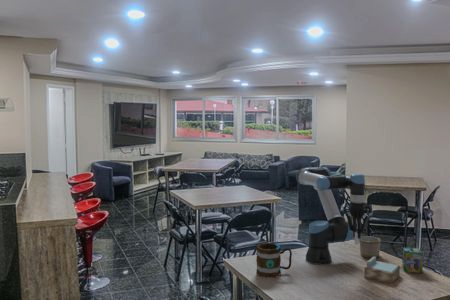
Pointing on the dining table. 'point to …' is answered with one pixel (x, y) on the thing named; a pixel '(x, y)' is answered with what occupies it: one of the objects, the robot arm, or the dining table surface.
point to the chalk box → (412, 260)
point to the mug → (270, 259)
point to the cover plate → (381, 265)
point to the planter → (369, 246)
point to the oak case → (381, 274)
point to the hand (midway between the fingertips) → (356, 243)
